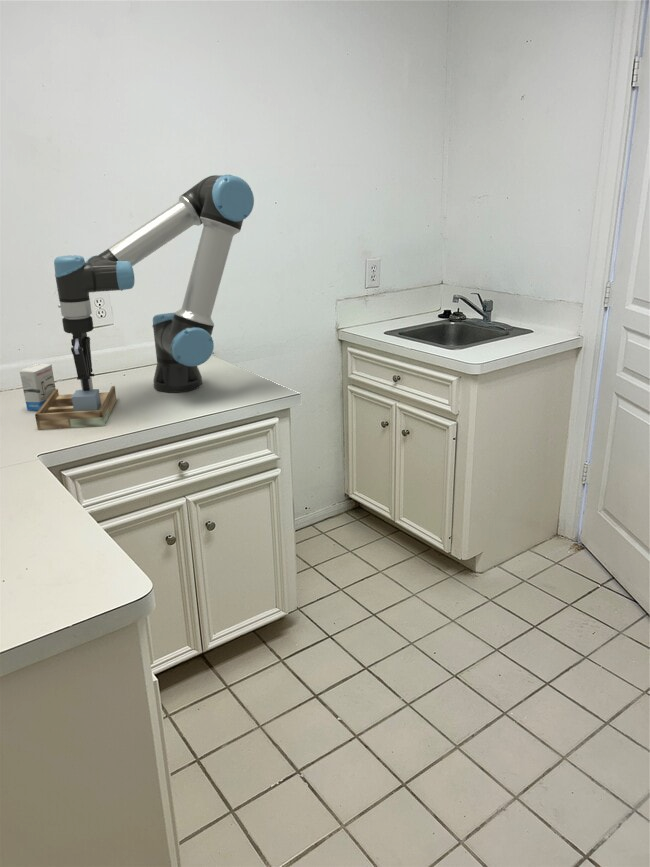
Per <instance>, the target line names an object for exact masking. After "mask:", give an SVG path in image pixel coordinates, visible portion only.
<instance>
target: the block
mask: <svg viewBox="0 0 650 867" xmlns="http://www.w3.org/2000/svg"><path fill="white" fill-rule="evenodd" d="M100 393H101V392H100V388H93V389H90V390H89V391H84V390H82V389H76V390H75V392H74V393H72V394H73V396H72V403H73V409H74V412H75V411H93V410H100V408H101V400H100Z"/></svg>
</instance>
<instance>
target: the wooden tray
mask: <svg viewBox="0 0 650 867" xmlns="http://www.w3.org/2000/svg"><path fill="white" fill-rule="evenodd" d="M99 393H100V400H101V408H100V410H93V411H75V412H74V409H73V403H72V396H73V394H74V393H70V394H67V393H66V394H60V393H59V389H58V388H56V389H55V390H54V391H53V392H52V394H51V395H50V396H49V397H48V399H47V400H46V401H45V403H44V404H43V405H42V406H41V408H40V409H39V410H38V411H36V413H35V414H34V416H35V422H36V428H37V430H55V429H71V428H89V427H105V425H106V423H107V421H108V418H109V417H110V415H111V413H112V410H113V408H114V406H115V404H116V402H117V393H116V386H115V385H113V386H111V387H110V389H109V391H108V392H107V391H106V392H99Z"/></svg>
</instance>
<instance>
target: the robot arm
mask: <svg viewBox="0 0 650 867" xmlns="http://www.w3.org/2000/svg"><path fill="white" fill-rule="evenodd" d="M254 205H255V197H254V194H253V191H252V188H251V186H250V185H249V184H248V183H247V181H246V180H244V179H243V178H242V177H239V176H236V175H231V174H224V175H217V174H216V175H209V176H207V177H205V178H203V179H201V180H200V181H199V182H198V183H196V184H195V185H194V186H192V187H191V188H190V189H188V190H187V191H186V192H183V194H181V195H180V196H179V198H178V201H177V202H176V203H174V204H173V205H172V206H170V207H168V208H167V209H165V210H163V211H162V212H161V213H160V214H158V215H156V216H155V217H153V218H152V219H150V220H149V221H147V222H146V223H144V224H143V225H141V226H139V227H138V228H137V229H135V230H134V231H132V232H131V233H129V234H128V235H126V236H124V238H122V239H120V240H119V241H117V242H116V243H114V244H113V245H111V246H110V247H108V248H107V249H106V250H104V251H103V252H101V253H100V254H98V255H97V254H96V255H93V256H91V257H89V258H87V260H86V261H85V258H84V256H82V255H78V254H77V255H61V256H57V257H55V259H54V261H53V263H54V264H53V266H54V277H55V281H56V288H57V296H58V301H59V303H58V305H57V307H58V308H59V309H60V312H61V316H62V317H63V318H61V319H62V320H61V321H62V327H63V331H64V333H66V334H70V335H72V338H71V346H72V347H71V348H70V350H71V354H72V357H73V360H74V364H75V371H76V375H77V378H76V380H78V381H79V380H80V385H81V390H84V391H89V390H90V389H94V385H93V380H92V378H93V377H95V373H93V363H92V352H91V337H90V336H88V333H89V332H92V331H93V330H94V322H93V317H92V316H91V315H92V313H93V311H92V306H91V298H90V293H97V292H98V293H99V292H100V293H101V292H111V291H112V292H113V291H124V290H131V289H133V288H134V286H135V272H134V268H133V266H135V265H137V264H138V263H140V262H141V261H142V260H144V259H145V258H147V257H148V256H150V255H151V254H152V253H155V252H156V251H158V249H161V248H162V247H164V246H165V245H166V244H168V243H169V242H171V241H173V239H175V238H177V237H178V236H180V235H182V233H183V232H186V231H187V230H188V229H189V228H191V227H193V226H198V227H199V226H201V225H203V227H202V231H201V235H200V239H199V243H198V245H197V246H198V247H197V250H196V253H195V256H194V261H193V264H192V265H193V266H192V268H191V272H190V277H189V279H188V284H187V287H186V290H185V291H186V292H185V294H184V298H183V302H182V306H181V308H180V309H178V310H177V311H175V312H167V313H160V314H155V315H154V316H153V317H152V324H151V326H152V329H153V337H154V347H155V355H156V356H155V357H156V367H155V372H154V375H153V376H154V377H153V388H154V389H155V390H157V391H159V392H164V393H181V392H182V393H183V392H188V391H194V390H196V389H199V388H200V387H202V385H203V377H202V374H201V372H200V370H199V367H198V366H201V365H202V364H204V363H206V362H207V361H208V360H209V359H210V358H211V357H212V355H213V352H214V349H215V348H214V347H215V346H214V340H213V337H212V333H213V331H214V327H215V324H214V322H213V319H212V313H213V310H214V306H215V303H216V300H217V297H218V293H219V288H220V284H221V281H222V279H223V278H222V277H223V273H224V270H225V267H226V262H227V259H228V256H229V252H230V249H231V245H232V241H233V238H234V236H235V235H237V234H238V233H240V232H241V230H242V225H243V223H244V220H245V219H247V218H248V217H249V216H250V215H251V213H252V212H253V210H254Z"/></svg>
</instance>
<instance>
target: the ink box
mask: <svg viewBox="0 0 650 867" xmlns="http://www.w3.org/2000/svg"><path fill="white" fill-rule="evenodd" d="M52 366H53V365H52V364H50V363H34V364H32V365H30V366H27V367H25V368H23V369H21V370H20V371H19V375H20V380H21V386H22V390H23V395H24V400H25V405H26V410H27V411H36V412H38V410H39V409H40V408H41V406H42V405H43V404H44V403H45V401H46V400H47V399H48V397H49V396H50V395H51V394H52V392H53V391H54V390H55V389H57V388H56V383H55V378H54V370H53V367H52Z"/></svg>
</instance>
